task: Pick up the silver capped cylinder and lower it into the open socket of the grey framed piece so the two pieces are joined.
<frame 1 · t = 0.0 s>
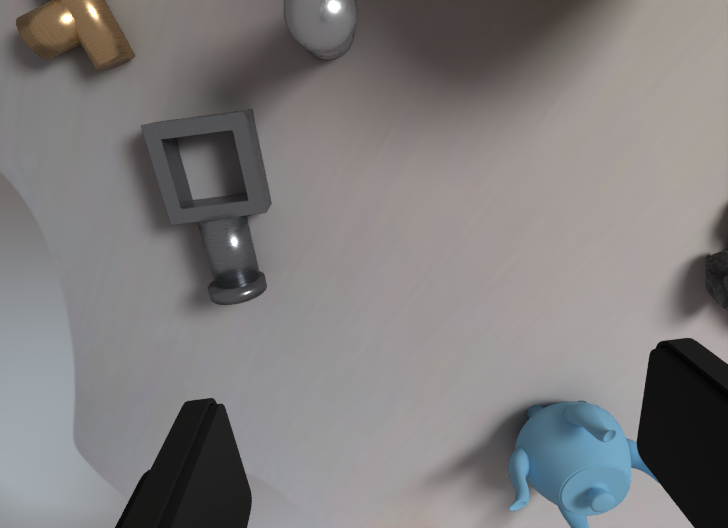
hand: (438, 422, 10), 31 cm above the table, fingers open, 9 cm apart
grey framed piece: (216, 164, 38), on the table
bronze tee: (98, 15, 33), on the table
teapot: (557, 425, 51), on the table
silver capped cylinder: (327, 30, 34), on the table
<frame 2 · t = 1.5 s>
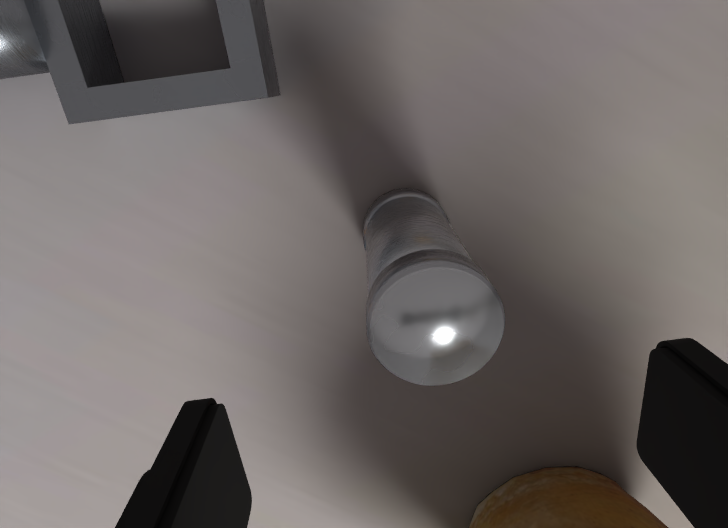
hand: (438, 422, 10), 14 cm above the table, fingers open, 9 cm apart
grey framed piece: (168, 6, 19), on the table
silver capped cylinder: (404, 228, 23), on the table
potted plant: (545, 522, 31), on the table
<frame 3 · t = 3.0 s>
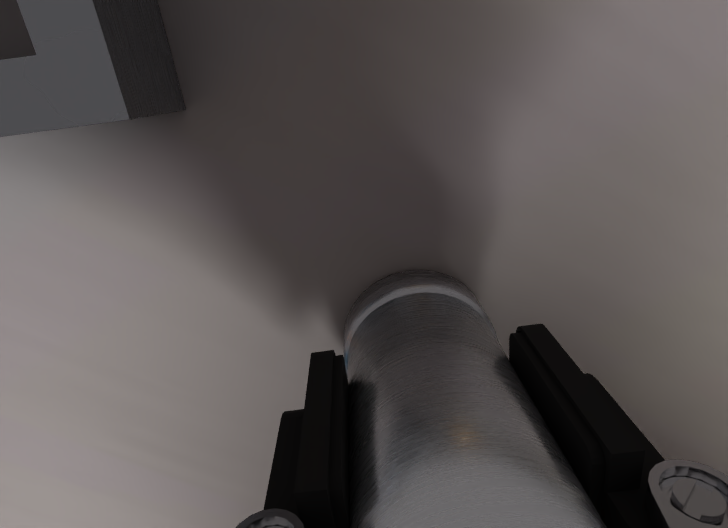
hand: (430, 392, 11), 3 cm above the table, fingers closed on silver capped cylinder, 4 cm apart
silver capped cylinder: (413, 331, 13), on the table, touching gripper
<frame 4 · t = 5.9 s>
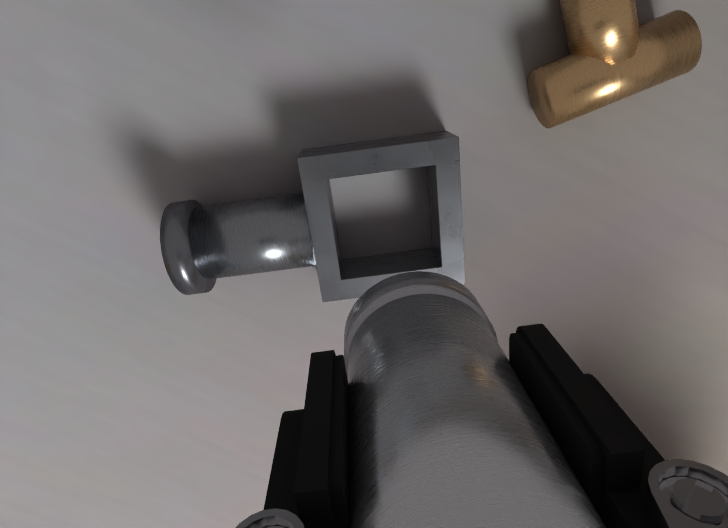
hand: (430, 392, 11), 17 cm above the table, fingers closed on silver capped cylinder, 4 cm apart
grey framed piece: (382, 209, 26), on the table
bronze tee: (593, 72, 24), on the table
silver capped cylinder: (414, 332, 13), point 14 cm above the table, touching gripper
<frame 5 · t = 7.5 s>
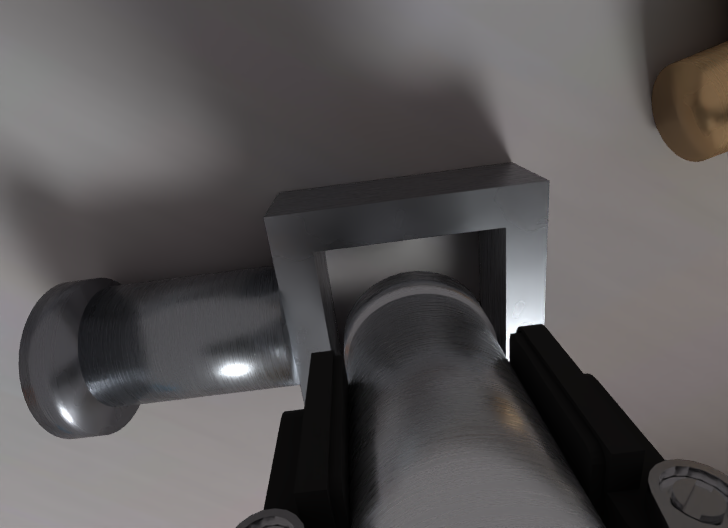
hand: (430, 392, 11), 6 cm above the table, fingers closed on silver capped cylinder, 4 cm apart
grey framed piece: (405, 283, 17), on the table
silver capped cylinder: (414, 332, 13), point 4 cm above the table, touching gripper
when the fingers open (4 cm above the table, at t = 8.7 s): silver capped cylinder drops 1 cm, resting in grey framed piece.
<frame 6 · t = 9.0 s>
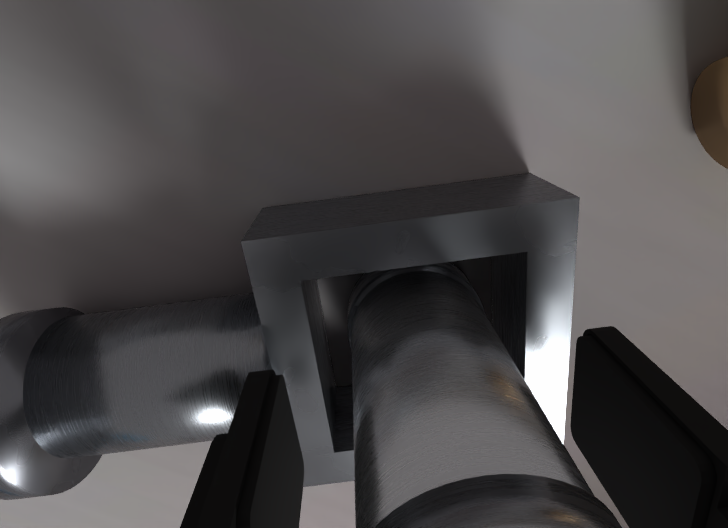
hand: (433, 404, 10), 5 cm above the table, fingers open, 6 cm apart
grey framed piece: (407, 308, 15), on the table
silver capped cylinder: (410, 309, 15), resting in grey framed piece
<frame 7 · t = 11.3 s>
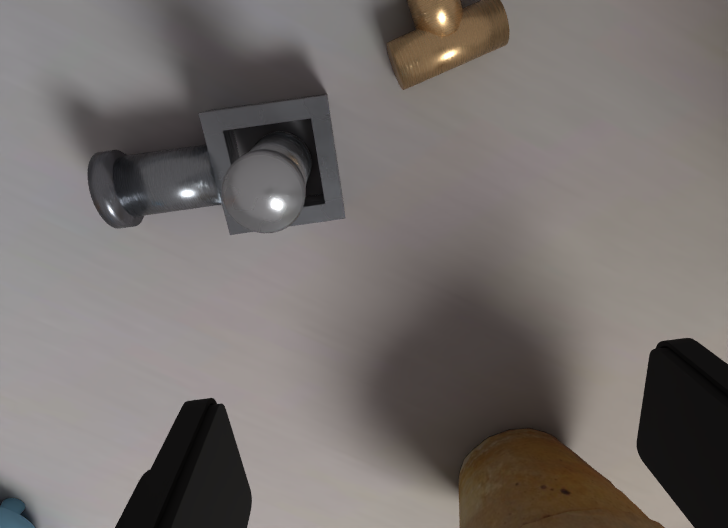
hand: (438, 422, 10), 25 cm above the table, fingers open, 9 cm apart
grey framed piece: (280, 160, 32), on the table
bronze tee: (440, 45, 30), on the table
teapot: (0, 525, 43), on the table
silver capped cylinder: (282, 161, 32), resting in grey framed piece
potted plant: (511, 468, 46), on the table
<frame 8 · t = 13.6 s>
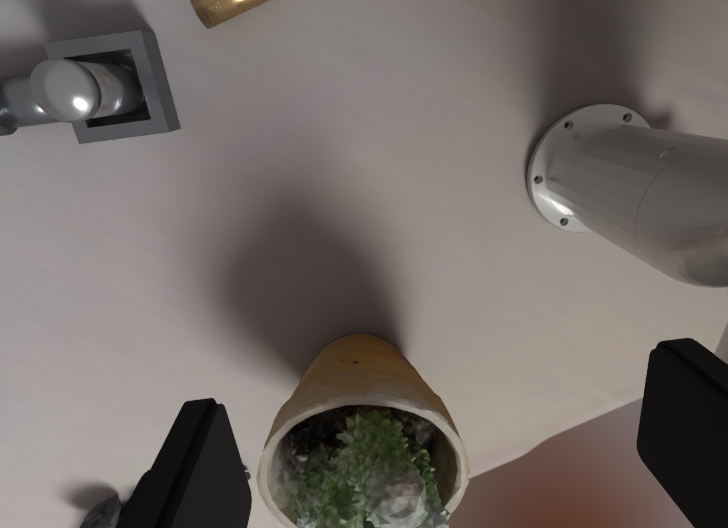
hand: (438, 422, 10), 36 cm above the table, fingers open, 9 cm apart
grey framed piece: (124, 88, 40), on the table
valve: (180, 510, 61), on the table
silver capped cylinder: (126, 89, 40), resting in grey framed piece
potted plant: (358, 372, 53), on the table
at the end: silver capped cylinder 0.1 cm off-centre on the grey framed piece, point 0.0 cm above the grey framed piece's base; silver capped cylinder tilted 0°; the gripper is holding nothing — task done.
